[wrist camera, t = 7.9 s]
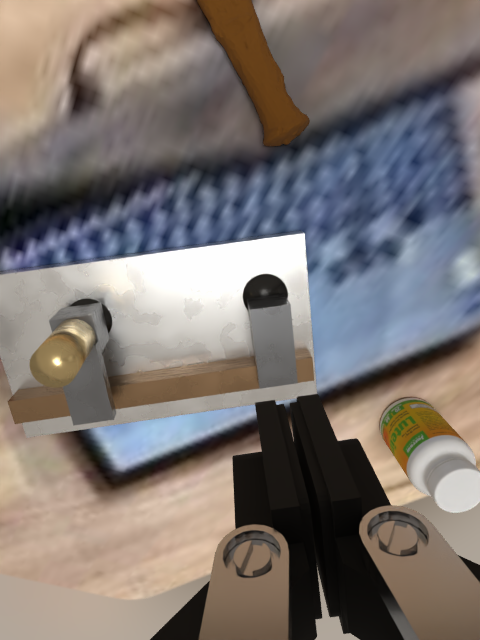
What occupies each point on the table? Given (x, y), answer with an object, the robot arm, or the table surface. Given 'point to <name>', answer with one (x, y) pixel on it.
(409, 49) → the table surface
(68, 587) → the table surface
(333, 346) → the table surface
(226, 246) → the bolt plate
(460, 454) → the supplement bottle
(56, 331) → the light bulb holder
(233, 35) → the primitive tool
